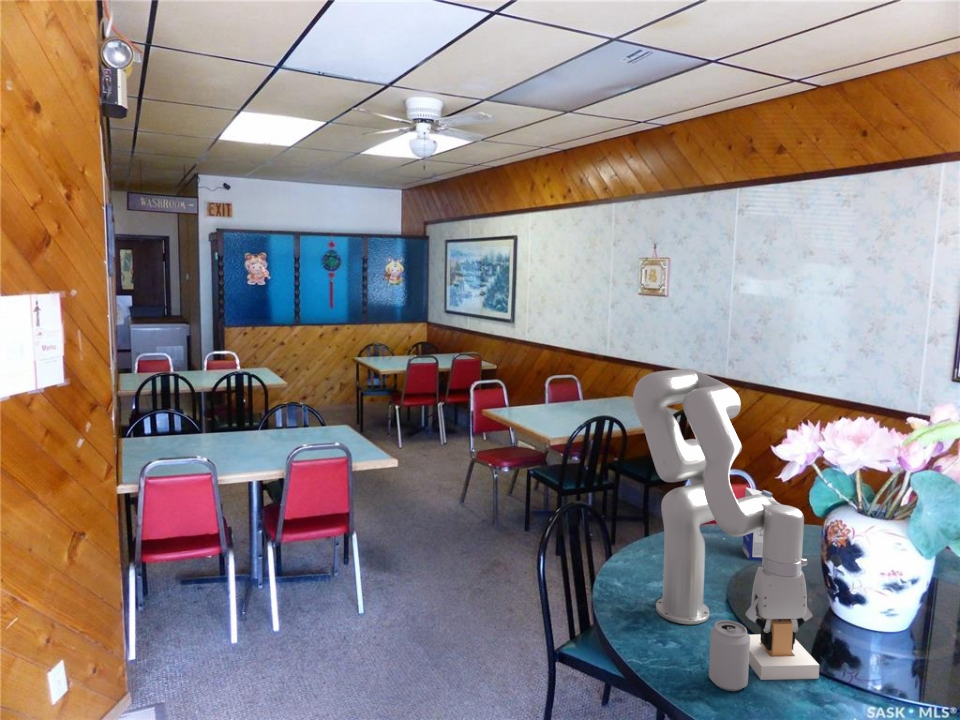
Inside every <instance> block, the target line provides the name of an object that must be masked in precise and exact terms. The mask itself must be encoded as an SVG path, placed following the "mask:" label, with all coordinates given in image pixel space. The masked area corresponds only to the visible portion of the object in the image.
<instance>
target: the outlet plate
mask: <svg viewBox="0 0 960 720" xmlns="http://www.w3.org/2000/svg"><path fill="white" fill-rule="evenodd" d="M749 636H750V650H749V666H750V668H752V670H753V671H754V673H755V674H756V675H757V677H758V678H759V680H761V681H763V680H764V681H770V680H774V681H775V680H778V681H779V680H818V679H819V677H820V664H819V663H818V662H817V661H816V659H815V658H814V657H813V656H812V655H811V654H810V653H809V652H808V651H807V650H806V648H804V647H803V645H802V644H801V643H800V641H798V640H797V639H796V638H795V644H794V645H793V650H792V654H791V656H783V657H770V656H769V655H768V653H767V652H766V651H765V650H764V645H763V644H762V643H761V640H760V639H761V633H759V634H749Z"/></svg>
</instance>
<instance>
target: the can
mask: <svg viewBox="0 0 960 720" xmlns="http://www.w3.org/2000/svg"><path fill="white" fill-rule="evenodd" d="M749 635H750V634H749V633H748V630H747V628H746V626H744V625H743V624H742V623H740V622H737V621H735V620H734V621H733V620H729V619H721V620H718V621H716V622H715V623H714V625H713V627H712V628H711V629H710V637H709V638H710V639H709V642H710V643H709V664H708V666H709V667H708V676H709V679H710V680H711V681H712V682H713V684H715V686H717V687H719V688H720V689H722V690H725V691H730V692H738V691H741V690H742V689H743V688H746V687H747V686H748V683H749V668H750V667H749V666H750V664H749V650H750V636H749Z"/></svg>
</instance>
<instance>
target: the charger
mask: <svg viewBox="0 0 960 720" xmlns="http://www.w3.org/2000/svg"><path fill="white" fill-rule="evenodd" d="M770 632H771V633H772V646H771V650H769V651H768V650H767V649H766V648H765V646H764V650H765V651H766V652H767V653H768V655H769V656H770V657H783V656H791V654H792V636H793V623H792V622H791V621H790V620H789V619H773V620H772V624H771V628H770Z"/></svg>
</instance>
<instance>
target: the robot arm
mask: <svg viewBox="0 0 960 720" xmlns="http://www.w3.org/2000/svg"><path fill="white" fill-rule="evenodd" d="M632 398H633V400H632V402H633V403H632V404H633V407H634V410H635V414H636V415H637V418H638V420H639V422H640V424H641V426H642V427H641V428H643V429H642V430H643V431H644V434H645V437H646V442H647V445H648V449H649V451H650V455H651V458H652V462H653V464H654V467H655V471H656V473H657V475H658V476H659V478H660V479H661V480H662V481H664V482H666V483H677V482H678V483H679V482H682V481H687V480H689V482H690V484H688V485H684V486H683V485H682V486H680V487H675V488H673V489H672V490H670V491H668V492H667V493H666V494H665V495H664V496H663V498H662V501H661V505H660V506H661V507H660V508H661V509H660V510H661V516H662V523H663V531H664V532H663V533H664V534H663V535H664V539H663V542H664V544H663V551H664V552H663V577H662V578H663V580H662V581H663V582H662V597H661V598H659V599H658V600H657V601H656V603H655V611H656V612H657V613H658V615H659V616H661V618H663V619H666V620H667V621H670V622H671V623H675V624H682V625H698V624H701V623H704V622H706V621H707V620H708V619H709V618H710V608H709V607H708V606H707V605H706V604H705V603H704V588H705V567H706V566H705V565H706V563H705V562H706V542H705V539H704V536H703V534H702V532H701V528H700V526H701V525H703V524H707V523H710V522H711V521H715V522H716V524H717V525H718V528H720V529H721V530H722V532H724V533H725V534H726V535H728V536H731V537H734V538H735V537H736V538H739V537H743V536H744V535H747V534H750V533H753V532H757V531H764V535H763V555H762V561H761V566H758V567H757V569H756V572H755V577H754V580H753V586H752V590H751V591H752V594H751V599H750V600H751V605H750V607H749V608H748V609H747V610H746V611H745V616H746V618H748V620H750V621H752V622H753V623H755V624H757V626H759V628H760V634H761V639H760V640H761V643H762V644H763V645H764V646H765V648H766V649H767V650H768V651H769V650H771V646H772V633H771V632H770V628H771V624H772V620H773V619H789V620H790V621H791V622H792V623H793V636H792V650H793V645H794V644H795V639H796V633H797V632H798V631H799V628H800V627H801V626H803V624H804V623H805V622H807V621H809V620H810V619H811V618H812V617H813V613H812V612H811V610H810V609H809V607H808V604H807V602H808V600H807V598H808V597H807V596H808V595H807V585H806V579H805V573H804V571H803V567H804V566H807V565H808V560H807V558H803V546H804V545H803V541H804V526H805V525H804V524H805V517H804V514H803V512H802V511H801V509H799V508H797V507H794V506H791V505H788V504H786V505H785V504H782V503H780V502H778V501H777V500H776V501H777V502H776V501H774V500H773V499H771V498H769V497H767V496H764V495H760V494H755V495H751V496H747V497H745V496H744V497H741V498H736V496H735V493H734V490H733V488H732V485H731V481H730V479H731V478H730V472H731V467H732V465H733V463H734V461H735V459H736V458H737V457H738V456H739V454H740V453H741V452H742V449H743V445H742V443H741V440H740V439H739V437H738V435H737V433H736V430H735V428H734V426H733V425H732V424H733V423H732V422H731V419H733V418H736V417H737V416H738V415H739V413H740V412H741V407H742V406H741V405H742V404H741V399H740V396H739V394H738V393H737V392H736V391H735V390H734V389H733V387H731V386H729V385H728V384H726V383H724V382H722V381H720V380H718V379H715V378H714V377H711V376H709V375H708V374H705V373H703V372H701V371H699V370H696V369H694V368H693V369H692V368H680V369H672V370H671V369H670V370H669V369H668V370H660V371H654V372H650V373H648V374H646V375H644V376H642V377H641V378H640V379H639V380H638V382H637V383H636V385H635V387H634V390H633V396H632ZM678 404H682V409H683V412H684V415H685V417H686V419H687V421H688V424H689V426H690V428H691V430H692V432H693V434H694V437H695V438H689V439H684V436H683V434H682V430H681V427H680V424H679V422H678V421H677V419H676V417H675V416H674V415H673V414H672V412H670V410H668V409H667V407H668V406H671V405H678ZM757 614H759V615H757Z"/></svg>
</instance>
